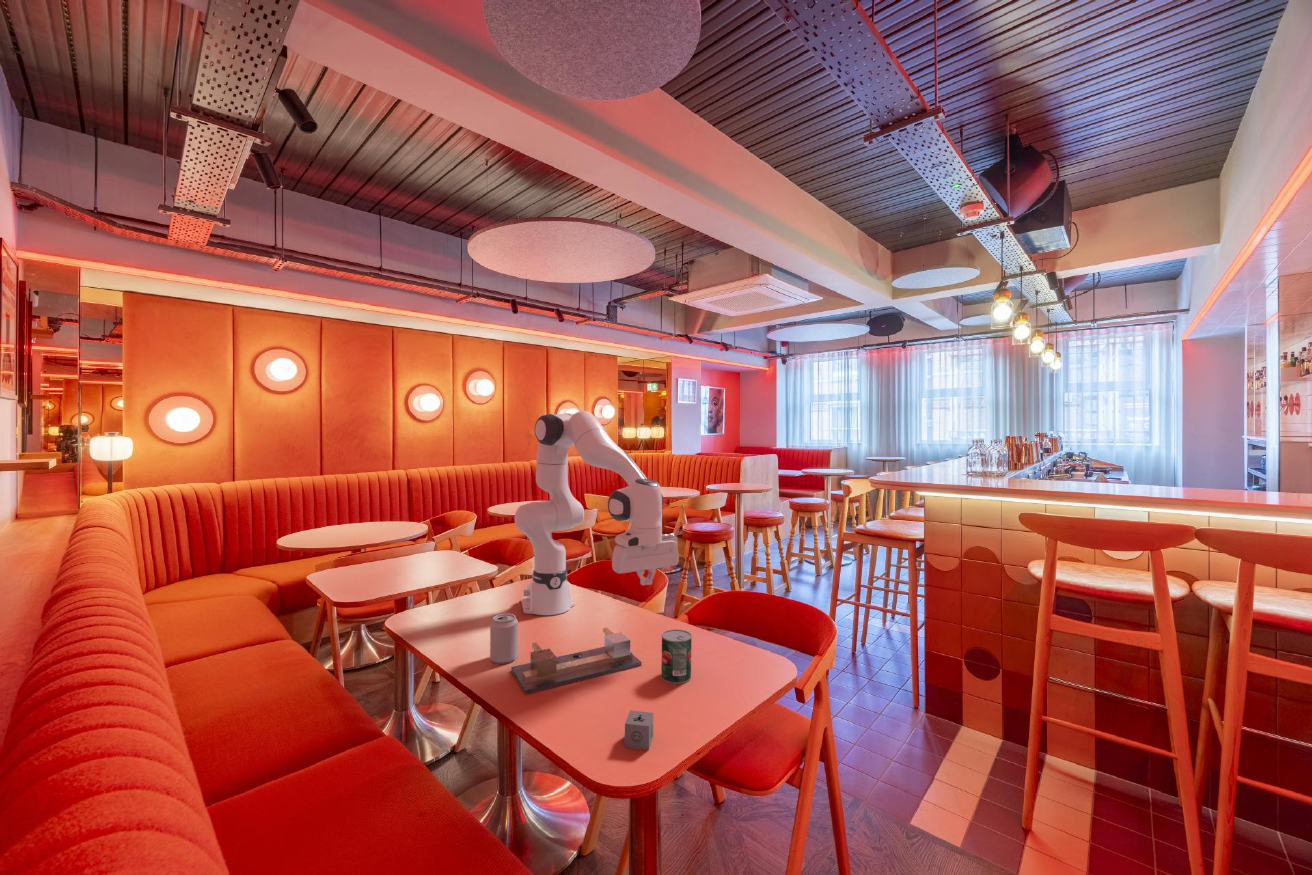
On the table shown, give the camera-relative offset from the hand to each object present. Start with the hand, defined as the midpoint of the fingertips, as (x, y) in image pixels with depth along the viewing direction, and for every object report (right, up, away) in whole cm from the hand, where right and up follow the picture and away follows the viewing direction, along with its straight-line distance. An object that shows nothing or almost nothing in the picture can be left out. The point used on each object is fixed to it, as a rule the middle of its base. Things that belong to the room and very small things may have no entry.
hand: (646, 584), depth 146 cm
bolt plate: (-19, -20, -8) cm, 29 cm away
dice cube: (-1, -21, -40) cm, 46 cm away
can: (-40, -20, -3) cm, 45 cm away
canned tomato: (+8, -21, -12) cm, 25 cm away
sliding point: (-9, -19, -2) cm, 21 cm away
